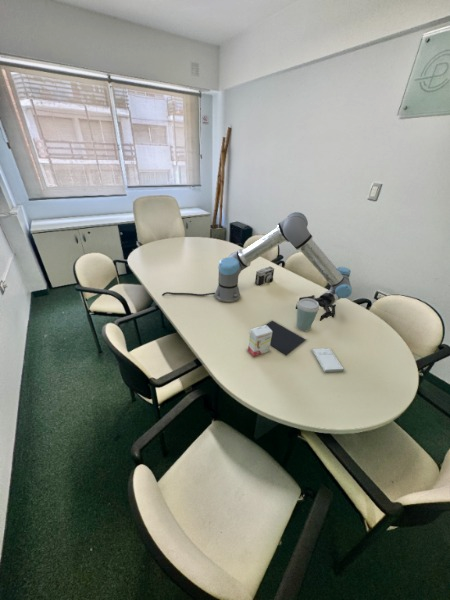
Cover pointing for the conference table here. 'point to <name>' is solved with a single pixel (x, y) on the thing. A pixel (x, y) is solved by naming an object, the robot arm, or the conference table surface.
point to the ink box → (260, 340)
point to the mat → (283, 338)
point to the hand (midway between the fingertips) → (308, 312)
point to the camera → (264, 276)
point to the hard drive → (328, 360)
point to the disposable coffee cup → (306, 313)
